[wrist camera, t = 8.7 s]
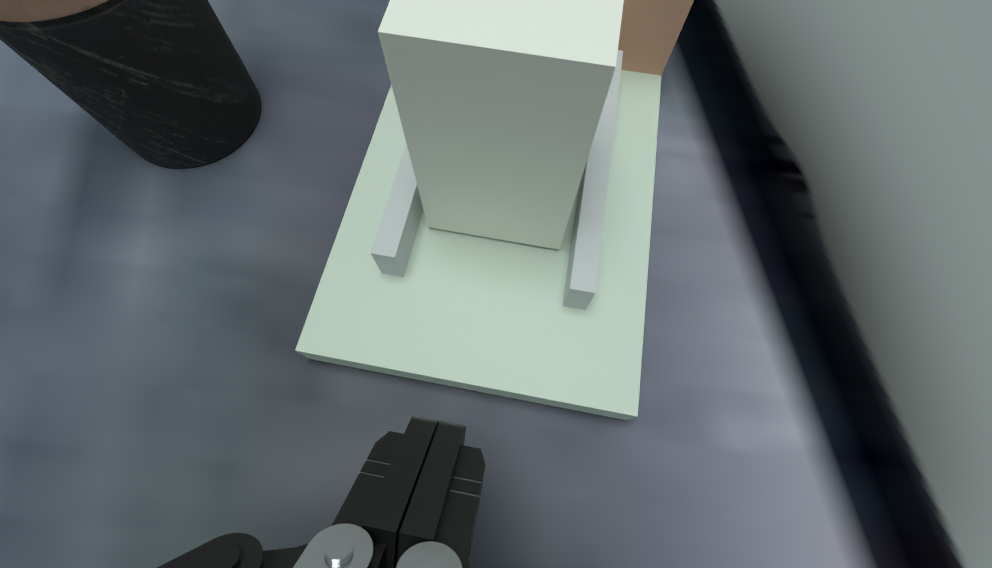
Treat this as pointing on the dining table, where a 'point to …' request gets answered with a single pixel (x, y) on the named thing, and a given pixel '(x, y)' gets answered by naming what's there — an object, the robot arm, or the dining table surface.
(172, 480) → the dining table surface
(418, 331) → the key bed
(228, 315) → the dining table surface
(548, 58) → the white rectangular block
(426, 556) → the robot arm
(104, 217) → the dining table surface
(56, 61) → the travel mug
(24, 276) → the dining table surface
